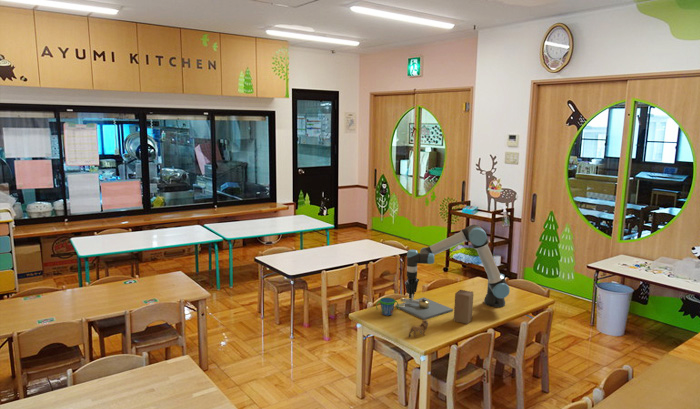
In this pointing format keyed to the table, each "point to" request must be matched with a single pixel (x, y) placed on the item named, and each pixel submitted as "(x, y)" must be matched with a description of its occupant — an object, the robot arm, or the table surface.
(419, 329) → the lion figurine
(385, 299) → the snack cup
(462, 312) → the wooden block
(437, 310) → the dial plate
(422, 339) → the table surface
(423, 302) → the brass ladle
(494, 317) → the table surface
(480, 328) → the table surface
